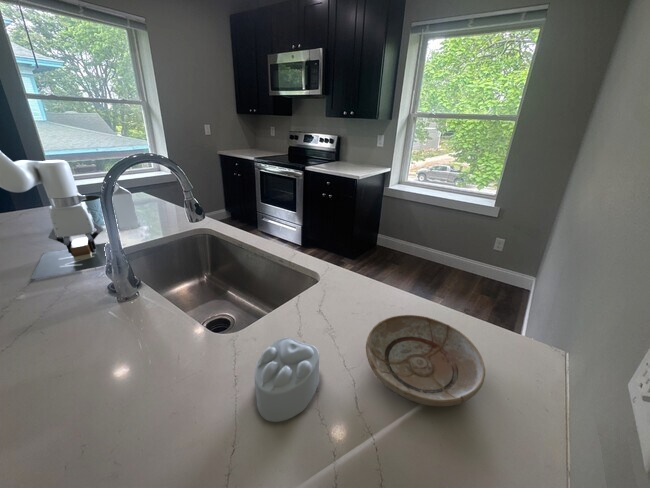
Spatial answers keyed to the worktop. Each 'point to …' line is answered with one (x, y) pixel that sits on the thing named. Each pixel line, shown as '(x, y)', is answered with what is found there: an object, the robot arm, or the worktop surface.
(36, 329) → the worktop surface
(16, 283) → the worktop surface
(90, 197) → the blue-grey cup
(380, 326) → the ceramic bowl
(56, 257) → the chalkboard
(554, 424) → the worktop surface
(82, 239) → the eraser
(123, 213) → the milk carton
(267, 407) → the lumpy-topped squat cylinder
